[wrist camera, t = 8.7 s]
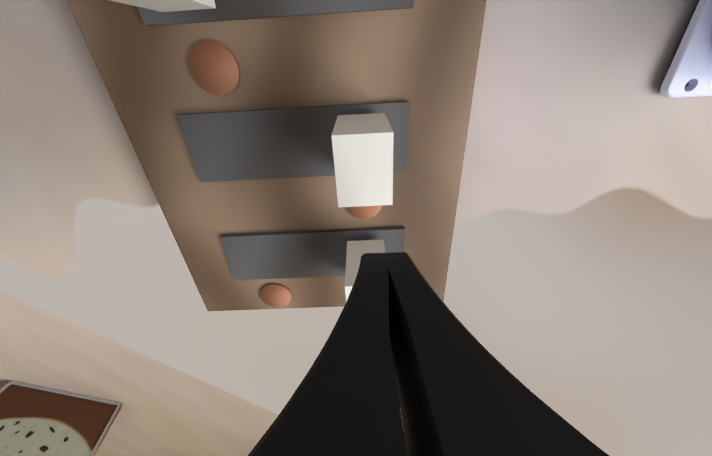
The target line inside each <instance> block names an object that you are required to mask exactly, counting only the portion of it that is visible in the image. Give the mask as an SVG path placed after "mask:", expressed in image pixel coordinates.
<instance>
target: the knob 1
mask: <svg viewBox="0 0 712 456" xmlns="http://www.w3.org/2000/svg"><path fill="white" fill-rule="evenodd" d="M110 1H115V2H119V3H124V4H128V5H133V6H137V7H142V8H146V9H151V10H155V11H160V12H171V11H185V10H200V9H215V8H216V5H215V1H214V0H110Z"/></svg>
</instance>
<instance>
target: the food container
mask: <svg viewBox="0 0 712 456" xmlns="http://www.w3.org/2000/svg"><path fill="white" fill-rule="evenodd" d="M121 407H122V403H121V402H116V401H111V400H106V399H102V398H97V397H92V396H87V395H82V394H77V393H72V392H67V391H62V390H57V389H52V388H48V387H43V386H38V385H33V384H28V383H23V382H18V381H13V380H11V381H9V382H8V383H7V384H6V385H5V386H3V387H2V388H1V389H0V456H95V454H96V452H97V450H98V448H99V447H100V445H101V443H102V441H103V439H104V438H105V436H106V434H107V432H108V430H109V428H110V427H111V425H112V423H113V421H114V419H115V418H116V416H117V414H118V412H119V410H120V409H121Z"/></svg>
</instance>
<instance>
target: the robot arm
mask: <svg viewBox="0 0 712 456" xmlns="http://www.w3.org/2000/svg"><path fill="white" fill-rule="evenodd" d="M687 82H689V84H688V86H687V87H686V88H685V85H686V84H687ZM684 88H685V89H684ZM660 92H661V95H662V96H664V97H671V98H679V97H697V96H712V0H700V1H699V3H698V5H697V7H696V10H695V12H694V14H693V16H692V19H691V21H690V23H689V25H688V28H687V30H686V32H685V34H684V36H683V39H682V41H681V43H680V45H679V48H678V50H677V52H676V54H675V57H674V59H673V61H672V63H671V66H670V68H669V70H668V72H667V74H666V77H665V79H664V81H663V83H662V86H661V89H660ZM400 410H401V412H400ZM401 416H402V418H401ZM402 423H403V425H402ZM403 430H404V431H403ZM248 456H609V455H607V454H606V453H605V452H604V451H602V450H601V449H600V448H598V447H597V446H596V445H595V444H593V443H592V442H591V441H590V440H588V439H587V438H586V437H585V436H583V435H582V434H581V433H580V432H579V431H578V430H576V429H575V428H574V427H573V426H572V425H570V424H569V423H568V422H566V420H564V419H563V418H562V417H561V416H560V415H558V414H557V413H556V412H555V411H553V410H552V409H551V408H550V407H549V406H547V405H546V404H545V403H544V402H543V401H542V400H540V399H539V398H538V397H537V396H536V395H534V394H533V393H532V392H531V391H530V390H529V389H528V388H526V387H525V386H524V385H523V384H522V383H521V382H520V381H519V380H518V379H516V378H515V377H514V376H513V375H512V374H511V373H510V372H509V371H508V370H507V369H506V368H505V367H504V366H503V365H502V364H501V363H499V362H498V361H497V360H496V359H495V358H494V357H493V356H492V355H491V354H490V353H489V352H488V351H487V350H486V349H485V348H484V347H483V346H482V345H481V344H480V343H479V342H478V341H477V340H476V339H475V338H474V336H473V335H472V334H471V333H470V332H469V331H468V330H467V329H466V328H465V327H464V326H463V325H462V323H461V322H460V321H459V320H458V319H457V318H456V317H455V316H454V314H453V313H452V312H451V311H450V310H449V309H448V308H447V306H446V305H445V304H444V302H443V301H442V300H441V299H440V298H439V296H438V295H437V294H436V293H435V291H434V290H433V289H432V287H431V286H430V285H429V284H428V282H427V281H426V279H425V278H424V277H423V275H422V274H421V273H420V271H419V270H418V268H417V267H416V265H415V264H414V262H413V261H412V259H411V257H410V256H409V255H408V254H407V253H406V252H393V253H364V254H363V255H362V256H361V260H360V265H359V269H358V273H357V276H356V279H355V282H354V285H353V287H352V290H351V292H350V294H349V297H348V299H347V302H346V304H345V306H344V309H343V311H342V313H341V315H340V317H339V319H338V321H337V323H336V325H335V327H334V329H333V331H332V333H331V335H330V336H329V338H328V340H327V342H326V343H325V345H324V347H323V349H322V350H321V352H320V354H319V355H318V357H317V359H316V360H315V362H314V364H313V365H312V367H311V368H310V370H309V372H308V374H307V375H306V376H305V378H304V379H303V381H302V382H301V384H300V385H299V387H298V388H297V390H296V391H295V393H294V394H293V396H292V397H291V399H290V400H289V402H288V403H287V404H286V406H285V407H284V409H283V410H282V412H281V413H280V414H279V416H278V417H277V418H276V420H275V421H274V422H273V424H272V425H271V426H270V428H269V429H268V430H267V431H266V433H265V434H264V435H263V437H262V438H261V439H260V441H259V442H258V443H257V445H256V446H255V447H254V448H253V450H252V451H251V452H250V454H249V455H248Z"/></svg>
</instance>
